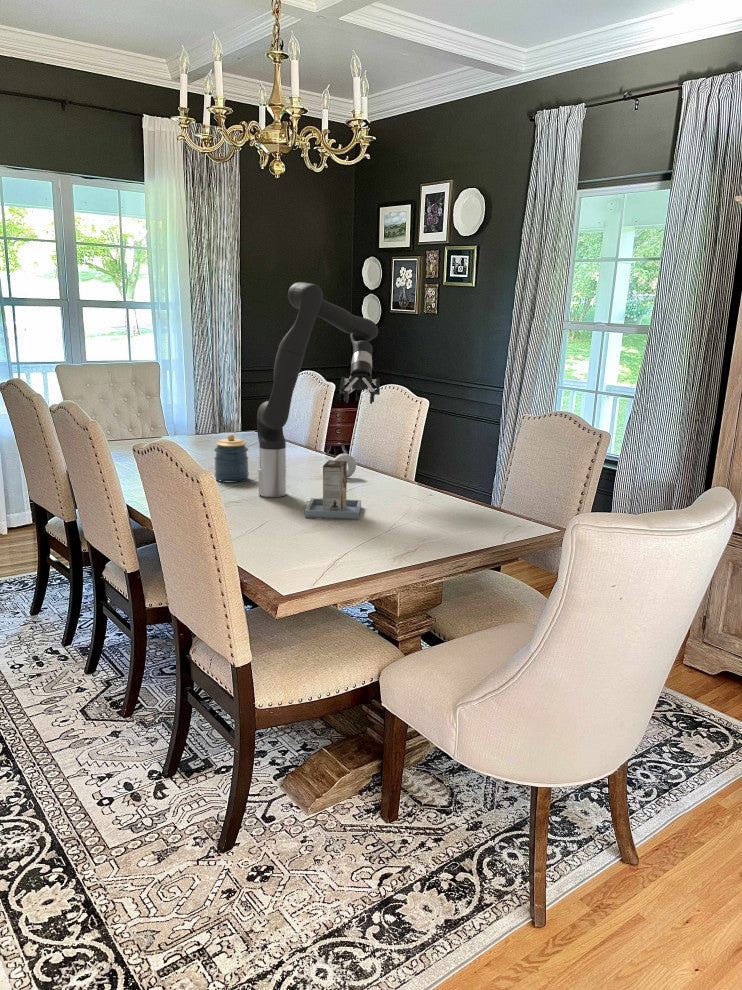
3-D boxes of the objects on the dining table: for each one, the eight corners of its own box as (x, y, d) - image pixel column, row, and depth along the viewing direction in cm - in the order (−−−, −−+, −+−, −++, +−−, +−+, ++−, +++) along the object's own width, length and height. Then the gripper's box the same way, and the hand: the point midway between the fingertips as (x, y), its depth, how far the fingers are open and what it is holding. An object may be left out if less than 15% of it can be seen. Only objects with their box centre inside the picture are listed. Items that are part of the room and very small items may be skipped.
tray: (305, 518, 240) (305, 510, 239) (311, 505, 256) (311, 498, 255) (357, 520, 239) (358, 512, 239) (361, 507, 255) (361, 500, 254)
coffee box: (327, 506, 252) (328, 459, 249) (346, 507, 252) (347, 460, 248) (322, 513, 244) (322, 465, 240) (341, 514, 243) (342, 466, 239)
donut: (333, 479, 294) (333, 454, 291) (330, 478, 297) (330, 453, 294) (357, 478, 297) (357, 453, 295) (354, 476, 300) (354, 452, 298)
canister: (208, 480, 287) (206, 435, 283) (226, 474, 299) (224, 430, 295) (238, 484, 283) (237, 438, 279) (254, 477, 295) (254, 433, 290)
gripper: (341, 359, 268) (338, 394, 260) (381, 360, 268) (379, 396, 259) (342, 372, 275) (339, 408, 266) (381, 374, 274) (379, 409, 266)
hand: (358, 402), depth 263 cm, fingers open, 8 cm apart
